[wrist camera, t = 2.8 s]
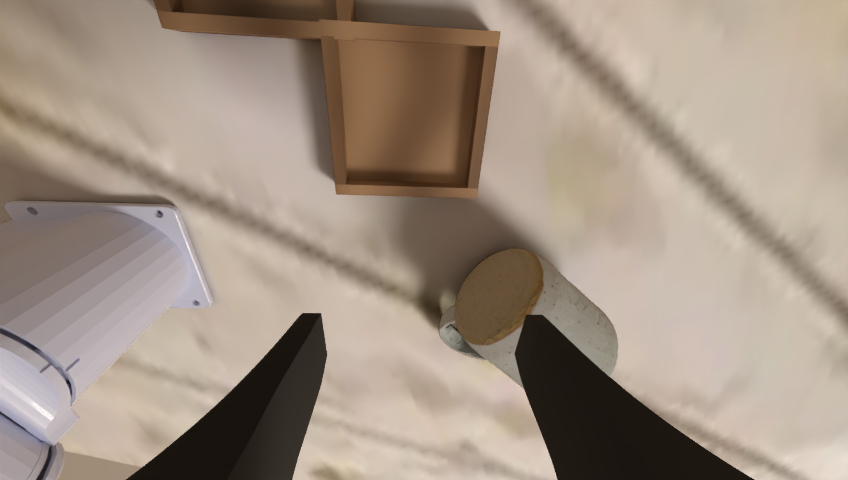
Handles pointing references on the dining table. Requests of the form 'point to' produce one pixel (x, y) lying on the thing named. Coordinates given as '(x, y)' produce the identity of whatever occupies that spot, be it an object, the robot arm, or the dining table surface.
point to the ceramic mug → (523, 312)
